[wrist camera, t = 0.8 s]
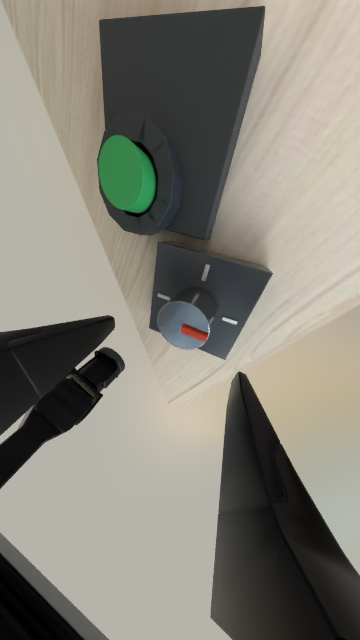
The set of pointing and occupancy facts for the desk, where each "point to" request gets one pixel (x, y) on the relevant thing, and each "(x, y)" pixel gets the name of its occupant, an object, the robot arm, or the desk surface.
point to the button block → (179, 106)
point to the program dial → (188, 318)
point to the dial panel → (209, 289)
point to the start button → (126, 175)
